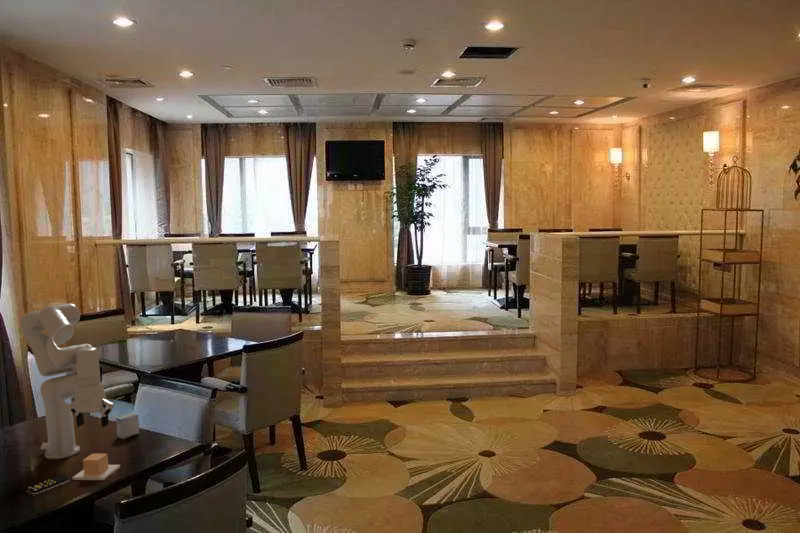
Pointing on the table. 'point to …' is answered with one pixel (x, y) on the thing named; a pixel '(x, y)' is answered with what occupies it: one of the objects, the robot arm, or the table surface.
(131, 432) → the medicine box
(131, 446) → the table surface
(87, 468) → the cardboard shipping carton
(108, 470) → the post base
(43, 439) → the table surface
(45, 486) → the remote control
